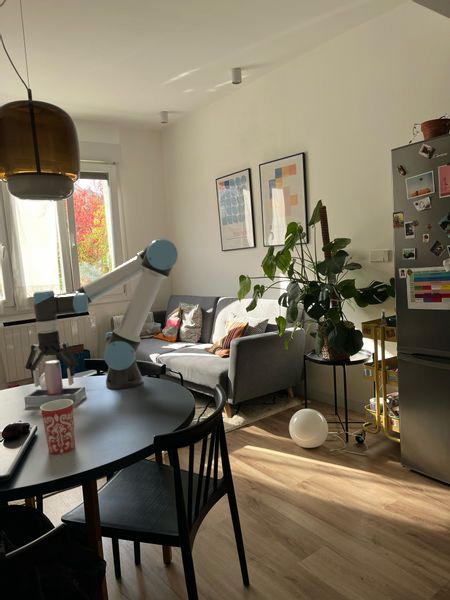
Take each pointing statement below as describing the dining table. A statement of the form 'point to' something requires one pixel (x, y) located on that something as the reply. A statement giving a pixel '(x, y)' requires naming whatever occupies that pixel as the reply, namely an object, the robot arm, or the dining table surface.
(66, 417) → the mug
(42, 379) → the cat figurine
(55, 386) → the beverage can
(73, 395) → the grey shallow rectangular tray
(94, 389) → the dining table surface
